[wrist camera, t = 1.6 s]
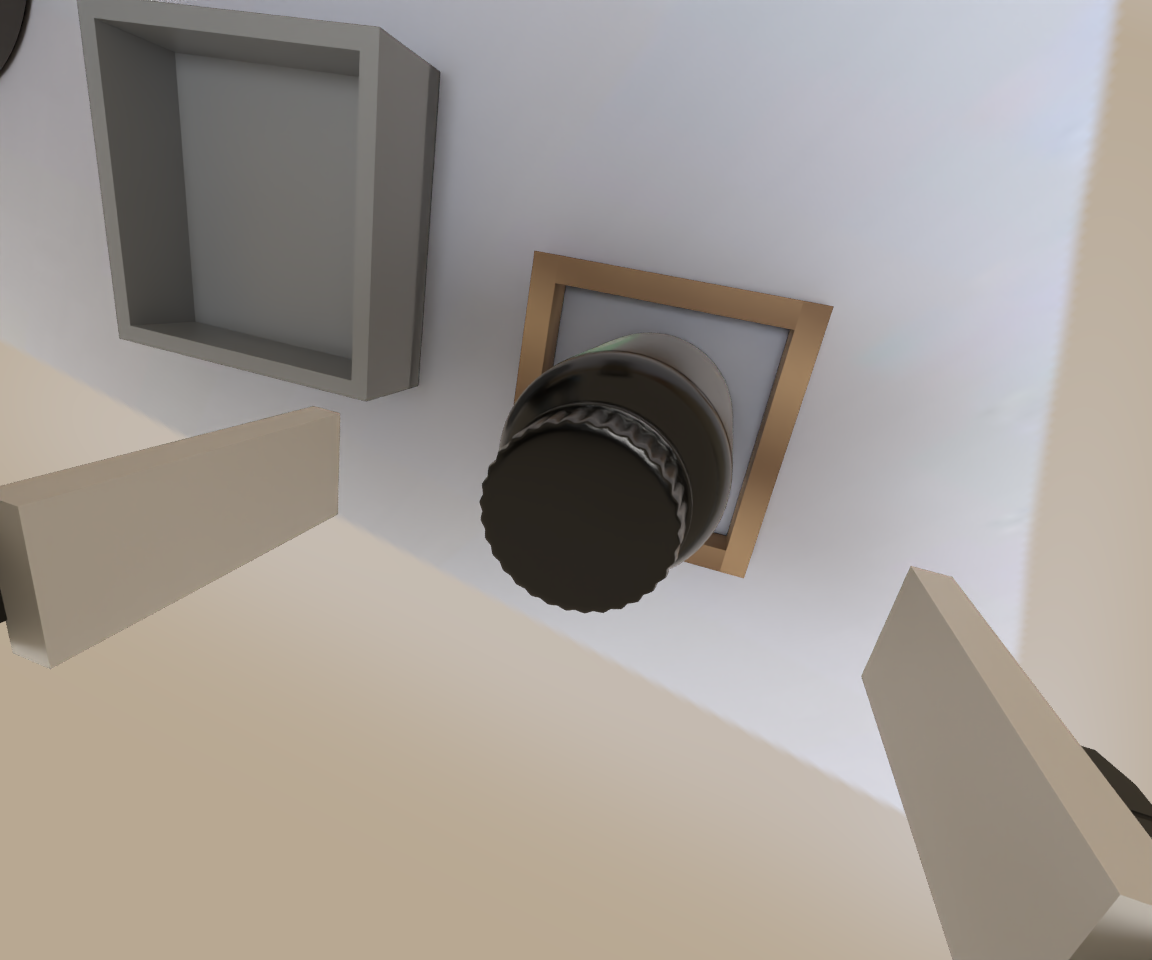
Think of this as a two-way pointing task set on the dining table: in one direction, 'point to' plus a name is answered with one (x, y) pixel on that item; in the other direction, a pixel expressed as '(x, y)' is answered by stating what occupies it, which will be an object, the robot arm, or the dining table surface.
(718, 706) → the dining table surface
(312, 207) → the bin
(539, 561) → the supplement bottle
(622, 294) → the wooden square frame
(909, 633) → the robot arm
